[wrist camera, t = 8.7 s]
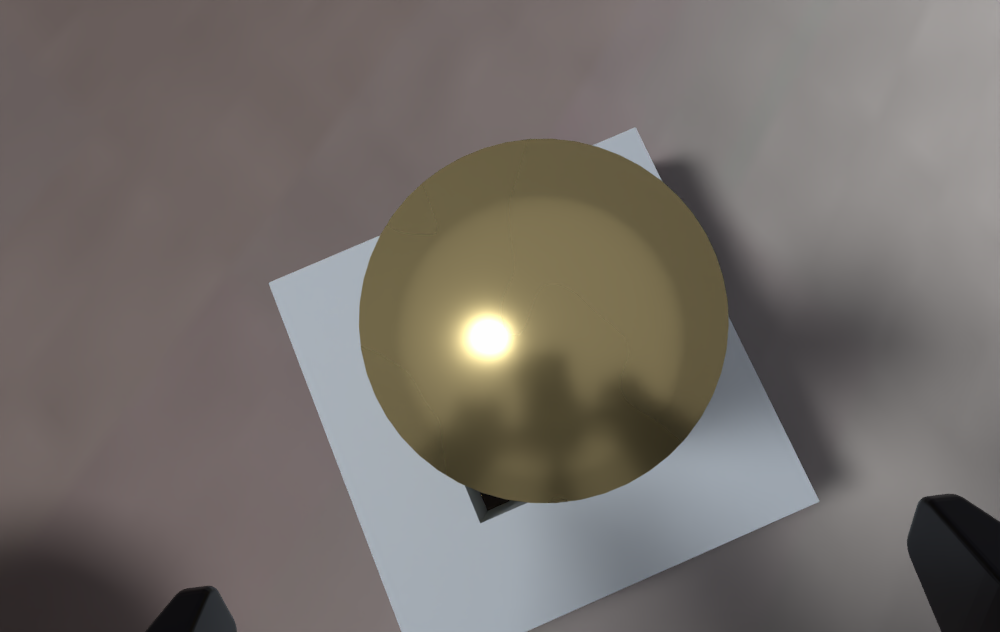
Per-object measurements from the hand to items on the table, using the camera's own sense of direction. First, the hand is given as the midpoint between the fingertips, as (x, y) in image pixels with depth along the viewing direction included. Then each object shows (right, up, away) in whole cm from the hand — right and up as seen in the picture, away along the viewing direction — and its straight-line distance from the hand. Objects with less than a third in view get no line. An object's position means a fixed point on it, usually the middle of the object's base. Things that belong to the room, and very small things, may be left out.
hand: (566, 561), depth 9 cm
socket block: (0, +1, +11) cm, 11 cm away
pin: (0, +1, +11) cm, 11 cm away
